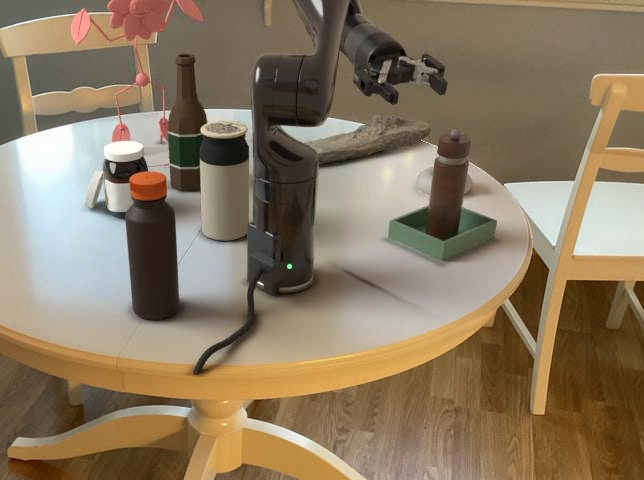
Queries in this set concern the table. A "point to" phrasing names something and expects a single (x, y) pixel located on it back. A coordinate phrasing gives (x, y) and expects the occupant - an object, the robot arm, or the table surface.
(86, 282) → the table surface
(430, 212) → the pepper mill
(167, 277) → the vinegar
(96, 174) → the spread jar
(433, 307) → the table surface
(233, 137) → the travel mug
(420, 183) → the donut
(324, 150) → the elongated rock
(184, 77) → the beer bottle
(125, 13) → the figurine
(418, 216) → the green shallow open box
